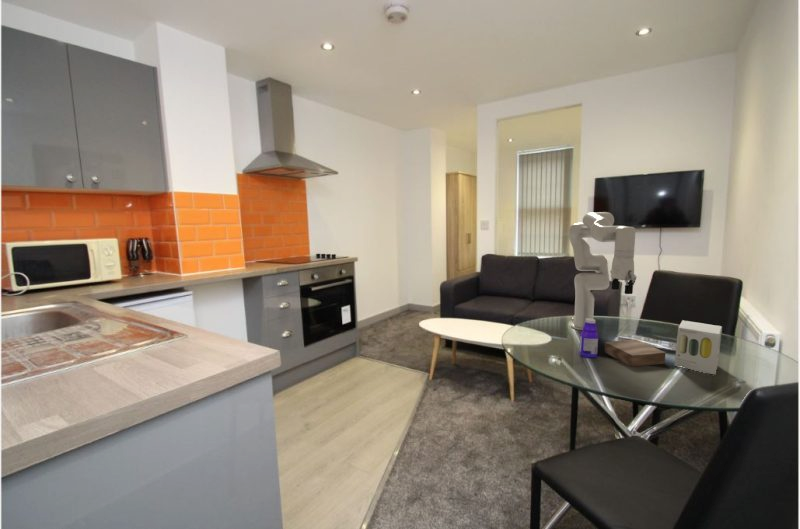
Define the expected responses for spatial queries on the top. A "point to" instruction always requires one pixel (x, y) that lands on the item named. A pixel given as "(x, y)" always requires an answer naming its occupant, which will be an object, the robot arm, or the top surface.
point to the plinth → (635, 353)
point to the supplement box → (698, 346)
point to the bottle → (589, 339)
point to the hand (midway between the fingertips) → (621, 291)
